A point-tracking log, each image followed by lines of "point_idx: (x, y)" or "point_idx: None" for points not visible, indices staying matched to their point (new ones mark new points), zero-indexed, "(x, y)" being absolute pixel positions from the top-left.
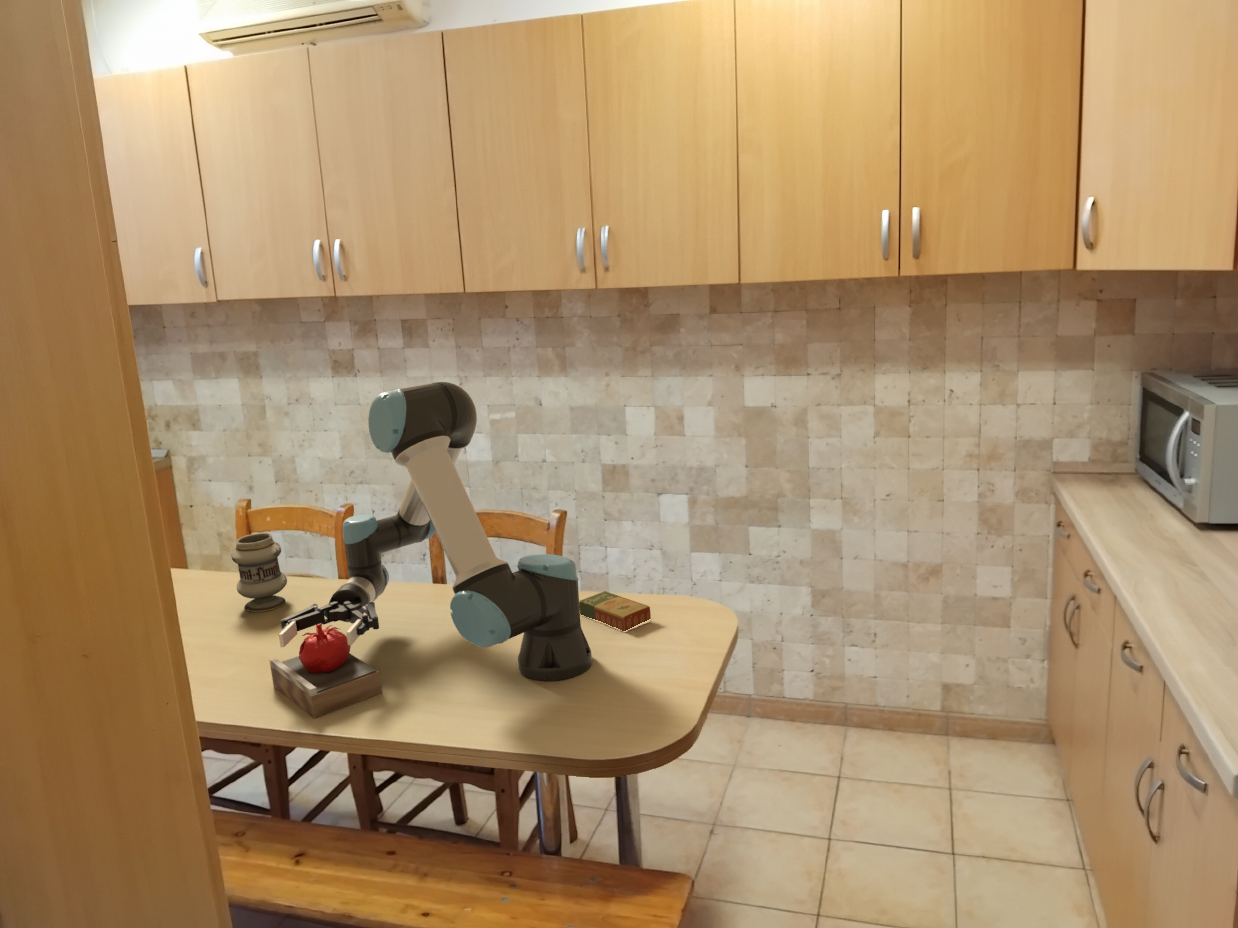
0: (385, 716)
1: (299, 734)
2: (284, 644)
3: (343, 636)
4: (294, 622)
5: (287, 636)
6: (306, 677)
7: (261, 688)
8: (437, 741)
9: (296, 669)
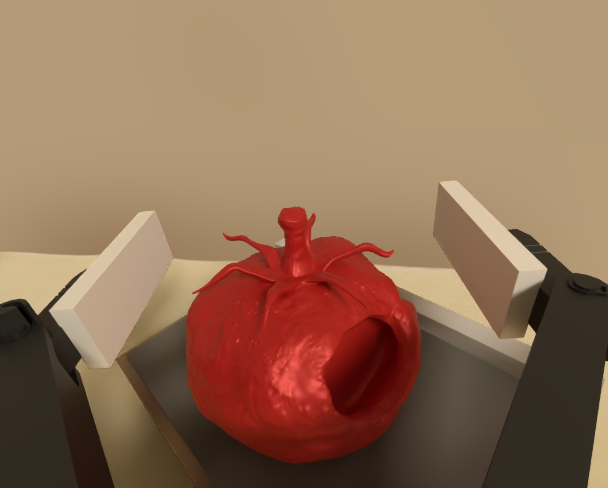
0: (146, 307)
1: None
2: (435, 229)
3: (194, 301)
4: (507, 259)
5: (451, 231)
6: None
7: (595, 433)
8: (77, 258)
9: (423, 356)
